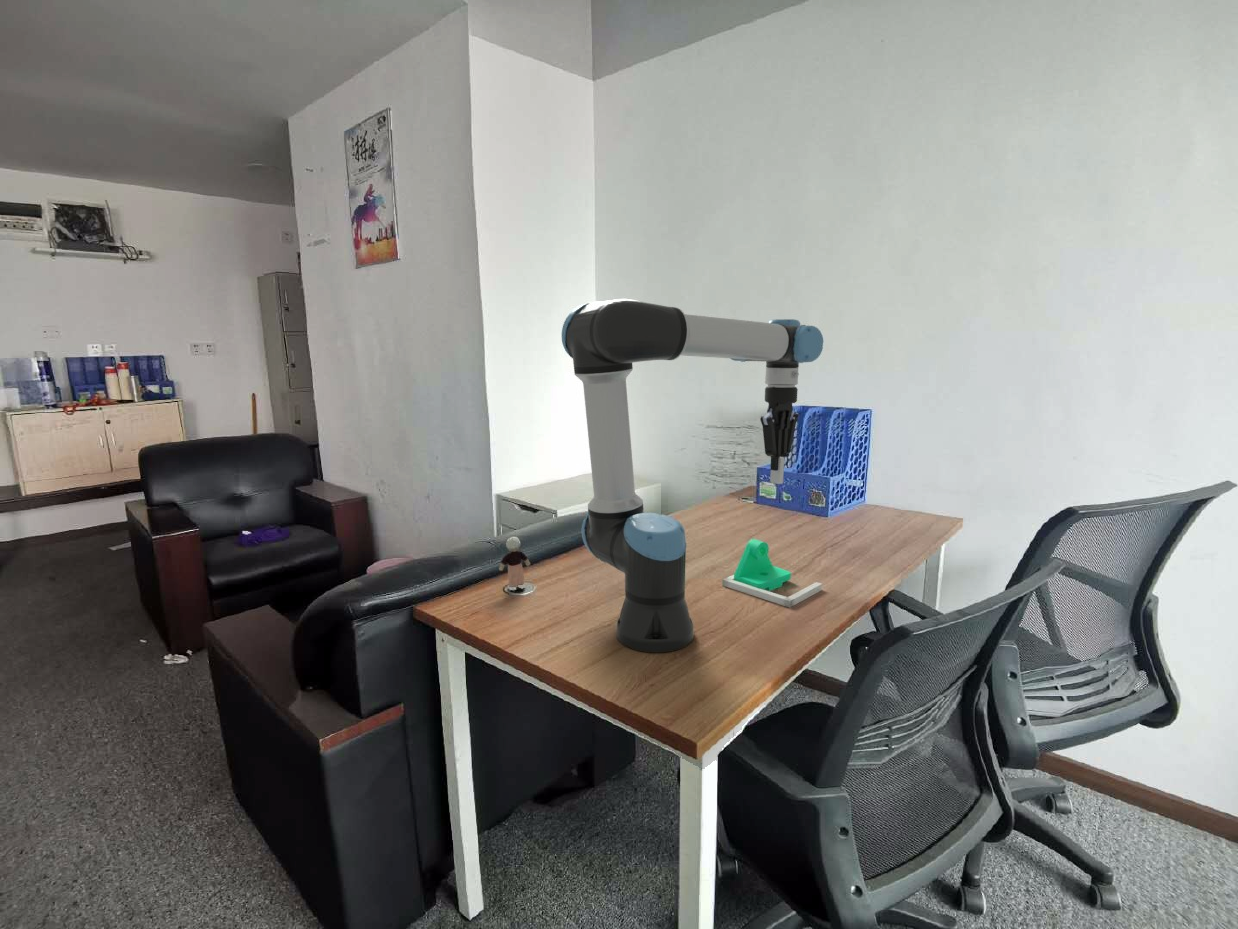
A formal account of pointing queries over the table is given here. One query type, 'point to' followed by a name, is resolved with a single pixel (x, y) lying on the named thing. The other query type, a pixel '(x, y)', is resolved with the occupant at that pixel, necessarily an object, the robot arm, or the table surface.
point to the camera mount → (759, 568)
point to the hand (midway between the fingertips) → (776, 482)
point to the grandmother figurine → (514, 562)
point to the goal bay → (772, 596)
